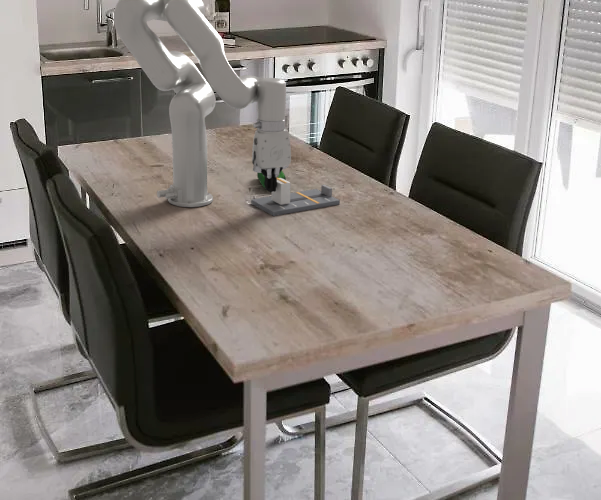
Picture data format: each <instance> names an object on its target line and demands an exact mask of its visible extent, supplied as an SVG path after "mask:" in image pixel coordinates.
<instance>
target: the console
mask: <svg viewBox="0 0 601 500" xmlns="http://www.w3.org/2000/svg"><path fill="white" fill-rule="evenodd" d="M320 188H321V189H320V190H319V189H318V188H314V189H306V190H302V191H295V192H294V191H293V192H290V203H288V204H282V205H280V204H278V203H277V202H275V201H273V200H271V196H270V195H269V196H265V197H264V196H263V197H258V198H254V199H253V198H252V199H250V201H251V202H250V203H251V205H252V206H253V205H254V207H257V208H258V209H260V210H262V211H264V212H266V213H268V214H269V215H271V216H272V217H275V216H280V215H286V214H287V215H288V214H292V213H293V214H294V213H298V212H299V213H300V212H304V211H311V210H315V209H322V208H326V207H333V206H337V205H340V204H341V199H338V198H336V197H334V196H333V188H332V187H331V186H328V185H326V184H321V187H320Z"/></svg>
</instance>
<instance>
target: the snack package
mask: <svg viewBox="0 0 601 500" xmlns="http://www.w3.org/2000/svg"><path fill="white" fill-rule="evenodd" d="M256 176H257V177H256V178H257V179H258V180H259V182H260V184H261V186H262V187H263V188H264V189H265V176H263V174H261V173H257V172H256ZM277 178H282V179H285V180H287V177H286V174H285V173H284V172H283V170H282V171H281V172H280V173H279V176H278V177H277Z"/></svg>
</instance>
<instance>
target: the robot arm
mask: <svg viewBox="0 0 601 500" xmlns="http://www.w3.org/2000/svg"><path fill="white" fill-rule="evenodd" d="M205 15H206V7H205V4H204V2H203V0H118V1H117V3H116V5H115V8H114V11H113V24H114V29H115V31H116V33H117V35H118V37H119V39H120V41H122V43H123V44H124V46H125V47H126V49H127V50H128V51H129V53H130V54H131V55H132V57H133V58H134V60H135V61H136V62H137V63H138V65H139V67H140V68H141V70H142V71H143V72H144V73H145V75H146V76H147V78H148V79H149V81H150V82H151V83H152V85H153V86H154V87H155V88H156V89H158V90H159V91H162V92H168V91H172V90H173V92H174V93H175V95H173V97H172V98H171V100H170V103H169V106H168V107H169V108H168V112H169V113H168V114H169V115H168V116H169V120H170V122H169V123H170V128H171V145H172V146H171V148H172V184H170V185H169V187H168V188H167V189H161V190H160V189H159V190H157V191H156V195H157V198H158V199H159V198H165V199H167V202H169V204H171V205H174V206H177V207H181V208H182V207H183V208H197V207H204V206H207V205H210V204H211V203H212V202H213V200H214V197H213V196H214V195H212V194H211V193H210V192H208V137H207V128H206V122H205V121H206V119H205V118H206V117H207V116H208V115H210V114H211V113H212V112H213V111H214V109H215V107H216V103H217V100H216V95H215V93H216V94H217V95H218V97H219V98H220V99H221V100H222V101H223V102H224V103H225V104H226V105H227V106H228V107H230V108H231V109H235V110H243V109H245V108H247V107H248V106H250V105H251V104H253V103H256V104H257V105H256V106H257V109H256V110H257V111H256V112H257V115H256V116H257V117H256V118H257V119H256V121H255V122H253V124H252V125H253V128H254V129H256V130H255V131H254V134H253V140H252V141H253V142H252V149H251V151H252V153H251V162H252V165H253V167H252V172H254V173H256V174H257V173H261V174H263V176H265V188H264V189H265V191H267V192H269V193H272V192H275V191H276V187H277V177H278V176H279V173H280V172H281V171H282V172H283V170H286V169H287V168H289V165H290V164H291V163H292V162H291V161H292V152H291V151H292V149H291V148H292V147H291V139H290V132H289V130H288V129H287V128H286V113H287V112H286V107H287V106H286V104H287V102H286V101H287V98H286V97H287V94H286V93H287V84H286V82H285V80H283V79H282V78H278V77H276V78H275V77H265V78H264V77H260V76H255V75H250V74H242V75H240V76H238V74H237V73H236V72H235V70H234V68H232V66H231V65H230V64H229V61H228V58H227V57H226V54H225V45H224V41H223V40H224V39H223V38H222V36H221V35H220V34H219V33H218V31H217V30H216V29H215V28H214V26H213V25H212V24H211V23H210V21H208V19H207V17H205ZM153 20H155V21H161V22H162V21H163V22H166V23H168V25H169V26H170V27H171V28H172V29H173V31H174V32H175V33H176V34H177V36H178V37H179V38H180V39H181V41H182V42H183V43H184V45H186V46H187V48H188V49H189V50H190V52H191V53H192V54H193V55H194V56H195V58H196V59H197V61H198V64H199V66H200V69H201V71H202V72H203V74H202V73H201V72H200V70H199V69H198V67H197V66H196V64H195V63H194V62H193V60H192V59H191V58H190V57H188V55H187V54H185V53H184V52H182V51H178V50H171V51H170V50H168V48H167V47H166V45H165V44H164V43H163V41H162V40H161V39H160V37H159V36H158V35H157V33H156V32H154V31H153V29H151V28H150V27H149V26H148V22H150V21H153ZM203 75H204V76H203ZM214 92H215V93H214Z"/></svg>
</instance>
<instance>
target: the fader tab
mask: <svg viewBox="0 0 601 500" xmlns="http://www.w3.org/2000/svg"><path fill="white" fill-rule="evenodd" d="M290 193H291V182H290V181H288V180H287V179H286V180H285V179H282V178H277V187H276V191H275V192H271V200H273V201H275V202H277V203H278V204H280V205H282V204H288V203H290Z"/></svg>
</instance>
